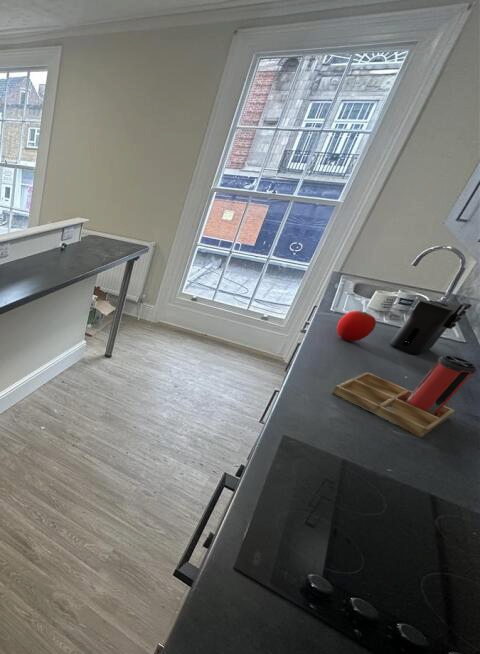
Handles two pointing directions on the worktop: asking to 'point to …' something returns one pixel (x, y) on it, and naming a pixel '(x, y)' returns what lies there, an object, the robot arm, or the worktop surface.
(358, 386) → the wooden divided tray
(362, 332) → the red egg shape
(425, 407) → the speaker
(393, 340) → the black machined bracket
